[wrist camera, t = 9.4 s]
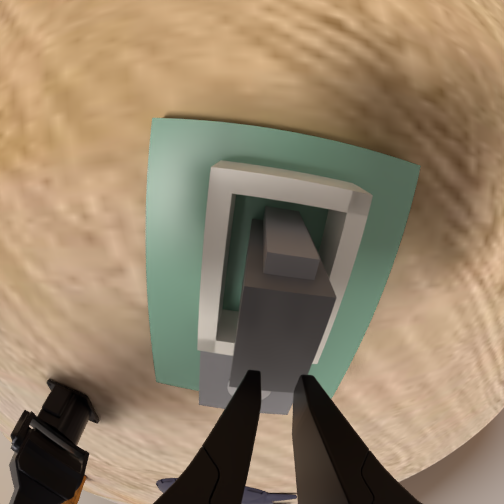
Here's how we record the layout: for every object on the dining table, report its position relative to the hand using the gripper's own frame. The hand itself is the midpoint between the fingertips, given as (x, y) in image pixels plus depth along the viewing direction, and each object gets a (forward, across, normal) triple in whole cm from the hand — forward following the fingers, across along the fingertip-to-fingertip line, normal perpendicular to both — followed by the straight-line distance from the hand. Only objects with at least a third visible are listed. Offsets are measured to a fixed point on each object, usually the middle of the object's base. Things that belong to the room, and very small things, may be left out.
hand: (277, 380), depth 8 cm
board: (+10, 0, +3) cm, 10 cm away
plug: (+8, 0, 0) cm, 8 cm away
